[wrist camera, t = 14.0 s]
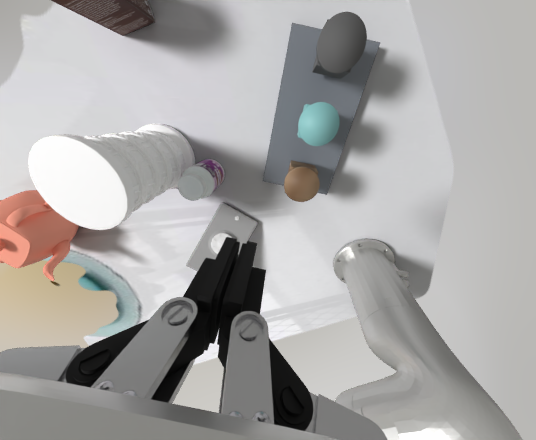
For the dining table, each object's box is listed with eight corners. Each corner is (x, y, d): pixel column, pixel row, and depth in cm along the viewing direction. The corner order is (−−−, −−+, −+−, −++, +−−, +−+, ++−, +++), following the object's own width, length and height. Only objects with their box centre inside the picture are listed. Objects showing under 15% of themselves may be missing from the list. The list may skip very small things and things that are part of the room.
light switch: (259, 222, 41) (223, 286, 41) (256, 221, 47) (224, 276, 47) (221, 201, 40) (184, 267, 39) (223, 202, 46) (190, 259, 45)
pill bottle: (230, 180, 40) (214, 198, 31) (207, 189, 41) (186, 210, 32) (216, 153, 37) (195, 165, 29) (192, 164, 39) (165, 179, 30)
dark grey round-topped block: (357, 37, 26) (374, 17, 21) (342, 83, 28) (355, 76, 23) (318, 28, 26) (326, 6, 21) (307, 75, 28) (311, 67, 23)
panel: (375, 46, 29) (397, 29, 23) (325, 191, 39) (331, 205, 33) (292, 27, 28) (292, 6, 23) (263, 178, 39) (259, 189, 33)
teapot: (102, 246, 50) (49, 284, 39) (39, 240, 51) (-31, 275, 40) (80, 188, 43) (8, 215, 32) (7, 182, 44) (-88, 205, 33)
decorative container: (207, 166, 39) (151, 203, 23) (167, 197, 42) (94, 247, 27) (163, 108, 35) (57, 105, 19) (122, 148, 38) (6, 172, 23)
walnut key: (318, 162, 33) (324, 172, 28) (309, 191, 36) (313, 204, 30) (288, 156, 33) (288, 164, 28) (281, 185, 36) (280, 197, 30)
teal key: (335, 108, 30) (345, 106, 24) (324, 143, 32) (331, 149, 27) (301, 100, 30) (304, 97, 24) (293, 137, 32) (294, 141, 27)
